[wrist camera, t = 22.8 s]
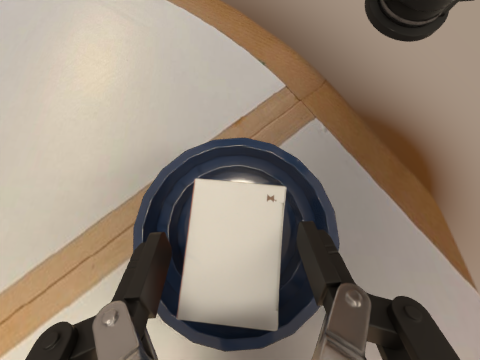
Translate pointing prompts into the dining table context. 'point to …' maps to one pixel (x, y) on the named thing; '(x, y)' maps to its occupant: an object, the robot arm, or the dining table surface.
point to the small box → (233, 254)
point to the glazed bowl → (295, 210)
